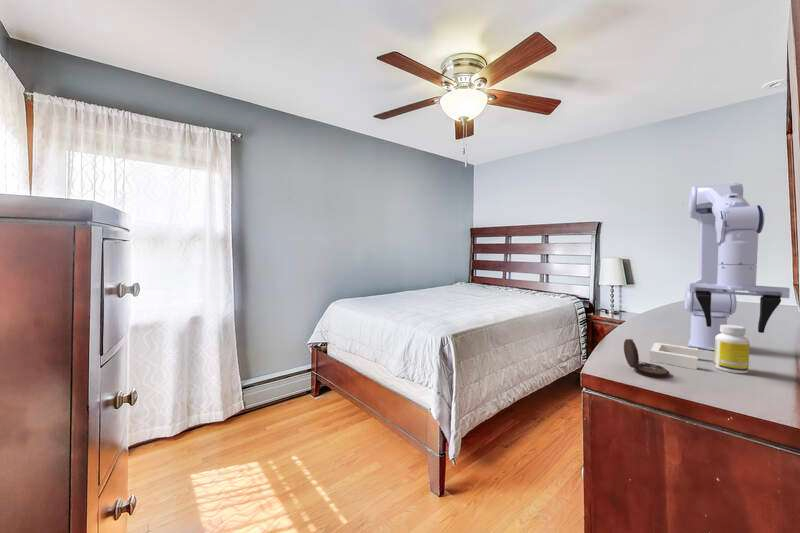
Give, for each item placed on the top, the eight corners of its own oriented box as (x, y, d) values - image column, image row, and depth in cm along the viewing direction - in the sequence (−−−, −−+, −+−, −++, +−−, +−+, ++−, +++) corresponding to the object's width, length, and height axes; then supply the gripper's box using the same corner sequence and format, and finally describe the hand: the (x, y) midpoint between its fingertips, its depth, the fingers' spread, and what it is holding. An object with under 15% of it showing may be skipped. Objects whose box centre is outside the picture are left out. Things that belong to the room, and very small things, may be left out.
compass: (675, 379, 68) (676, 345, 68) (631, 376, 71) (632, 342, 70) (657, 366, 76) (658, 335, 76) (618, 363, 78) (619, 333, 78)
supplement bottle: (755, 375, 70) (757, 329, 70) (725, 373, 72) (727, 328, 71) (735, 366, 76) (737, 324, 75) (707, 364, 77) (709, 323, 76)
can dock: (654, 351, 87) (655, 342, 87) (698, 358, 81) (698, 348, 81) (649, 360, 80) (649, 350, 80) (696, 369, 74) (697, 358, 74)
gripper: (689, 264, 71) (687, 326, 72) (793, 266, 61) (789, 338, 62) (691, 263, 76) (689, 321, 77) (788, 264, 66) (784, 331, 67)
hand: (733, 328), depth 69 cm, fingers open, 7 cm apart
